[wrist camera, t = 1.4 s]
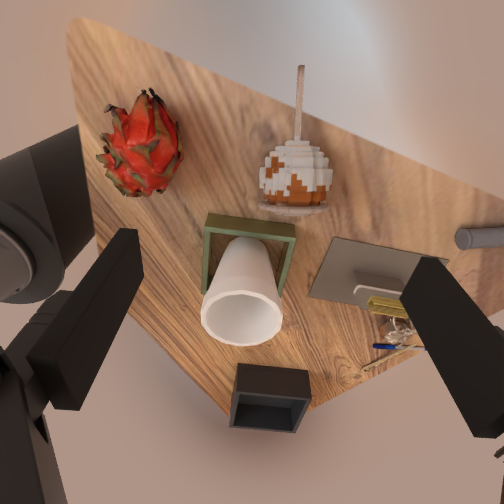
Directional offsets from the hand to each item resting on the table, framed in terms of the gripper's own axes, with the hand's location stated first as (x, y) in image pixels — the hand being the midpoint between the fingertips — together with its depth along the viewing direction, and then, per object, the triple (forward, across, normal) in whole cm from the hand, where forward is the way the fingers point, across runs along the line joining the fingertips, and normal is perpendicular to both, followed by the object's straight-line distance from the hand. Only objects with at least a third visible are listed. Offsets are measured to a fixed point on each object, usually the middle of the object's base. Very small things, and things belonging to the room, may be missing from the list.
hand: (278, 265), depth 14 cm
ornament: (+24, +26, -28) cm, 46 cm away
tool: (+24, +30, -39) cm, 54 cm away
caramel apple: (+19, +4, -7) cm, 21 cm away
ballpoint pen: (+24, +30, -35) cm, 52 cm away
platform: (+25, +20, -20) cm, 37 cm away
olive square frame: (+25, -1, -18) cm, 31 cm away
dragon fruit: (+25, -13, -2) cm, 29 cm away
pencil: (+25, +34, -9) cm, 43 cm away
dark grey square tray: (+25, +7, -53) cm, 59 cm away
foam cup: (+25, -1, -18) cm, 31 cm away
